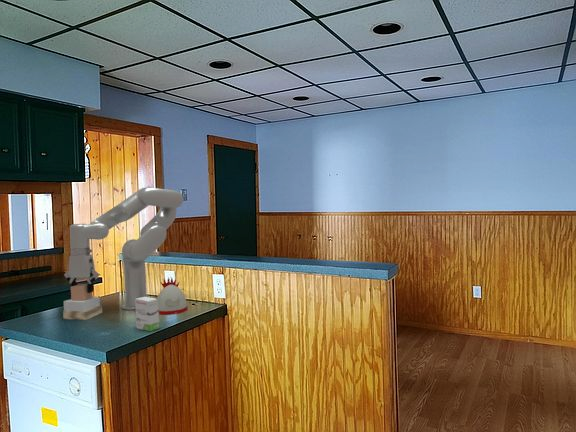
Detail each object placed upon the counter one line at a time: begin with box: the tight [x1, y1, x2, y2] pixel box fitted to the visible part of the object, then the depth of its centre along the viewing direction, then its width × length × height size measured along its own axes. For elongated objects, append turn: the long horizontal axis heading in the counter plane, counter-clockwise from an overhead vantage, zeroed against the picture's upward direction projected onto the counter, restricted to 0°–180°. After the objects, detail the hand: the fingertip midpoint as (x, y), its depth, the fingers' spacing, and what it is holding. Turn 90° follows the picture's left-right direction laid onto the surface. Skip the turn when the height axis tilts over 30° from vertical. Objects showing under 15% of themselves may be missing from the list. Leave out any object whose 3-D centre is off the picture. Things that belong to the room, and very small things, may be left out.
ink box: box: [135, 296, 160, 332], centre depth 164 cm, size 9×5×12 cm, turn 55°
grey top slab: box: [63, 296, 101, 312], centre depth 184 cm, size 10×10×4 cm
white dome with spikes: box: [156, 277, 188, 316], centre depth 189 cm, size 14×14×15 cm
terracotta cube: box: [70, 283, 94, 301], centre depth 184 cm, size 6×6×6 cm
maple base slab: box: [62, 304, 103, 321], centre depth 184 cm, size 11×11×4 cm
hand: (82, 291), depth 184 cm, fingers open, 7 cm apart
